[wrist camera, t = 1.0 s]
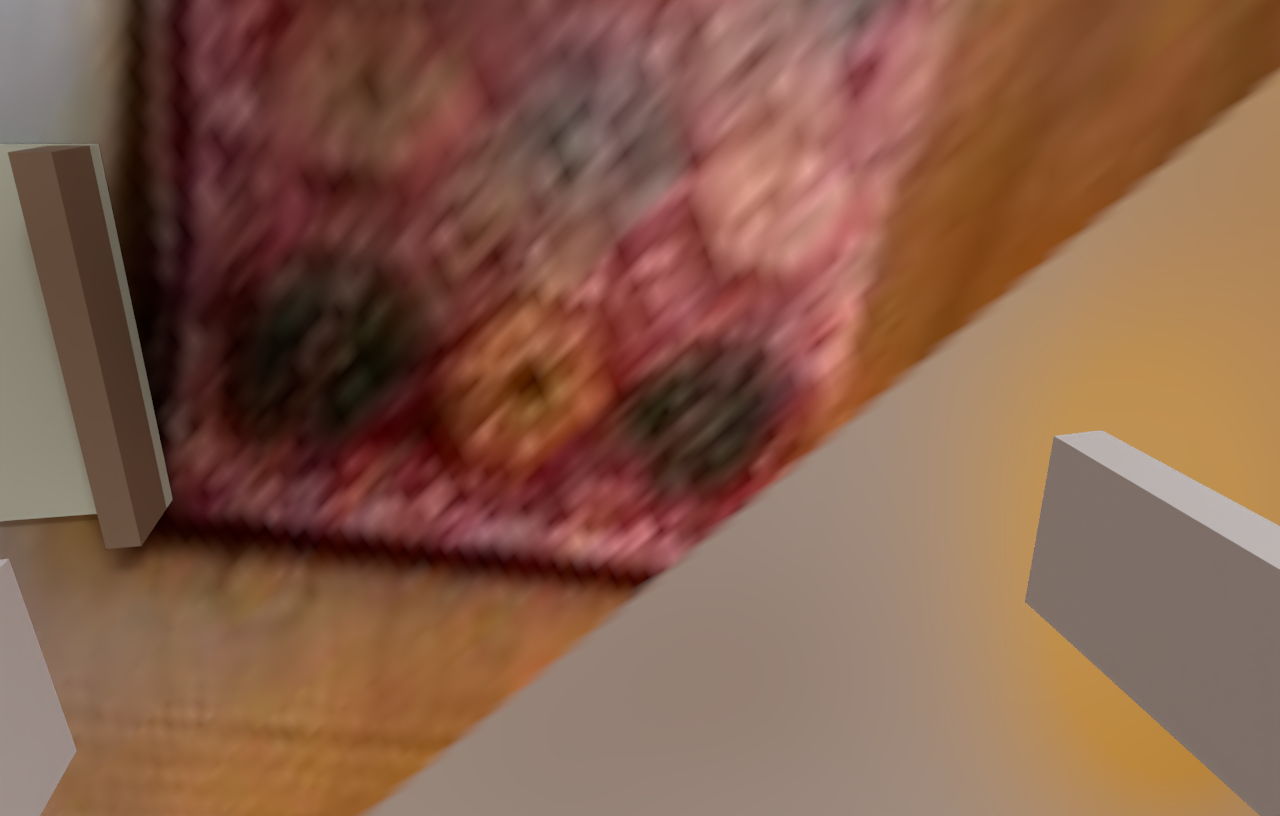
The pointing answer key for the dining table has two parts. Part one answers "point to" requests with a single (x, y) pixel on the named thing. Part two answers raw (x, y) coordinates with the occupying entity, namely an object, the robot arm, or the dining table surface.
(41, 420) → the cradle
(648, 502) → the dining table surface
